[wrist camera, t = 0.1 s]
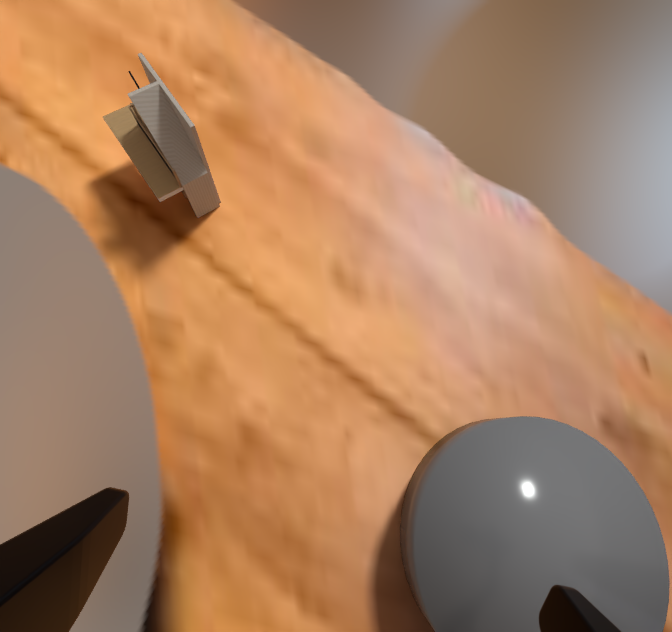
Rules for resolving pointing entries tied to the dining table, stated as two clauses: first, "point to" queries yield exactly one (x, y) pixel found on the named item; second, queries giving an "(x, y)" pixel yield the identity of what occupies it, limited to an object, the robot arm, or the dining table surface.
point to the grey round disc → (529, 529)
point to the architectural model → (164, 144)
